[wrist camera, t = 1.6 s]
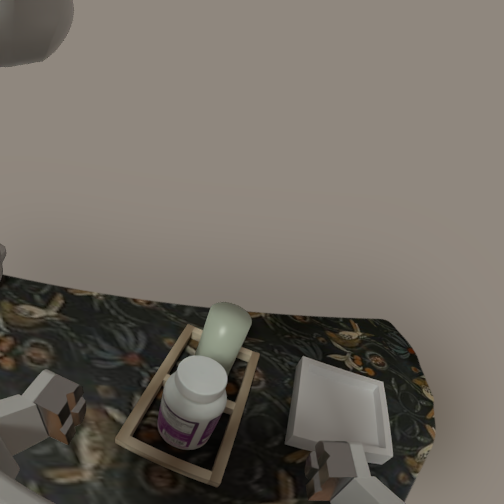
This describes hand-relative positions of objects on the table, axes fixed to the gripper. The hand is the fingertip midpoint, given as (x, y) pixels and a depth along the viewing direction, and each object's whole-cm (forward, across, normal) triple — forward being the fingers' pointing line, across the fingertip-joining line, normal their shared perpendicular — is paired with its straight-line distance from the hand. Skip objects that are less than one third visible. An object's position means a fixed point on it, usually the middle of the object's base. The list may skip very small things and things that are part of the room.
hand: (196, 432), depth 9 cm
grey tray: (+19, -16, +18) cm, 31 cm away
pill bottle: (+13, +2, +17) cm, 22 cm away
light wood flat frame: (+17, +1, +16) cm, 24 cm away
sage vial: (+22, 0, +16) cm, 27 cm away
